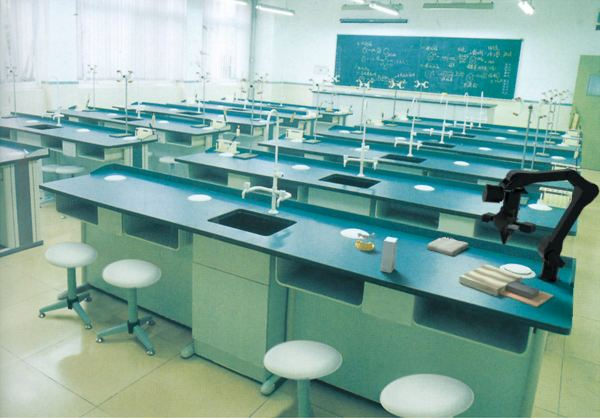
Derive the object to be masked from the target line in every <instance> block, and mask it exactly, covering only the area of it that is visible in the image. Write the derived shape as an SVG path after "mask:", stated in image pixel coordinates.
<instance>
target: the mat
mask: <svg viewBox="0 0 600 418" xmlns="http://www.w3.org/2000/svg"><path fill="white" fill-rule="evenodd" d="M499 295H502V296H504V297H508V298H510V299H513V300H515V301H518V302H521V303H524V304H525V305H526V304H527V305H528V306H532V307H535V308H537V307H539V306H541V305H542V304H544V303H546V302H547V301H548V300H550V299H551V298H553V296H554V295H553V294H550V293H548V292H545V291H541V290H539V295H538V296H536V297H535V298H533V299H528V298H525V297H523V296H520V295H517V294H514V293H511V292H509V291H506V290H504V291H503V292H501V293H500V294H499Z"/></svg>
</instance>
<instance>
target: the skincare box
mask: <svg viewBox="0 0 600 418" xmlns="http://www.w3.org/2000/svg"><path fill="white" fill-rule="evenodd" d="M398 240H399V239H398V237H390V236H387V237H386V238H385V239H383V244H382V245H383V247H382V253H381V260H380V261H381V262H380V268H379V270H380V272H382V273H383V272H385V273H389V274H391V273H392V272H393V270H394V268H395V264H396V263H395V262H396V256H397V247H398Z"/></svg>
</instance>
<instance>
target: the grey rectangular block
mask: <svg viewBox="0 0 600 418" xmlns="http://www.w3.org/2000/svg"><path fill="white" fill-rule="evenodd" d="M506 291H509V292H511V293H514V294H517V295H520V296H523V297H525V298H528V299H533V298H535V297H536V296H538V295H539V291H540V289H538V288H535V287H533V286H530V285H526V284H524V283H522V282H521V283H518V282H515V281H513V282H511V283H509V284H508V285H506Z"/></svg>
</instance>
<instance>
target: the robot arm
mask: <svg viewBox="0 0 600 418" xmlns="http://www.w3.org/2000/svg"><path fill="white" fill-rule="evenodd" d="M565 181H567V182H568V183H570V185H571V186H573V190H572V193H571V201H570V203H569V204H568V206H567V208H566V209H565V211H564V213H563V214H562V216H561V217H560V219H559V221H558V222H557V224H556V226H555V227H554V228H553V230H552V232H551V233H550V235H548V236H547V237H546V236H542V237H541V240H540V241H539V243H538V244H537V243H536V245H537V248H536V249H537V253H538V254H539V256H540V259H541V260H542V261H543V262H542V266H541V272H540V273H539V274H538V275H536V278H538V279H540V280H543V281H547V282H549V283H553V284H556V282H559V281H560V280H561V277H558V276H559V272H560V269H563V268H564V266H565V265H566V262H565V261H564V260H563V259H562V258H561V254H562V252H563V247H564V242H565V239H566V238H567V236H568V234H569V232H570V231H571V230H572V228H573V226H574V225H575V223H576V221H577V220H578V219H579V217H580V216H581V213H582V212H583V210H584V208H585V207H587V206H588V205H590V204H592V202H594V200H595V199H596V198H597V197H598V196H599V194H600V187H599V186H598V184H596V183H594V182H592V181H589V180H588V179H586V178H585V177H584V176H582V175H580V174H579V173H578V171H577V170H575V169H573V168H571V167H567V168H561V169H560V168H559V169H548V170H534V171H531V170H524V169H511V170H509V171H508V172H507V173H506V175H505V177H504V178H503V179H502V180H501V181H500V182H499V183H498V184H491V183H486V184H485V186H484V188H483V190H482V192H481V200H482V202H483V203H489V204H500V203H502V205H501V206H500V208H499V211H498V212H496V213H493V212H489V211H488V212H486V213H483V214H481V216H480V222H483V223H490V222H493V223H492V224H493V226H494V227H495V228H497V229H498V231H499V234H500V238H501V244H502V245H507V243H508V241H509V240H510V239H511V237H512V236H513V234H514V233H515V232H517V231H519V232H521V233H523V234H529V235H530V234H532V233H534V232H536V230H537V225H536V223H533V222H530V221H523V222H519V218H518V215H519V211H521V207H520V206H521V200H522V199H521V198H522V195H529V191H527V190H526V188H525V187H529V186H530V185H533V184H539V183H540V184H541V183H553V182H565Z"/></svg>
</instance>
